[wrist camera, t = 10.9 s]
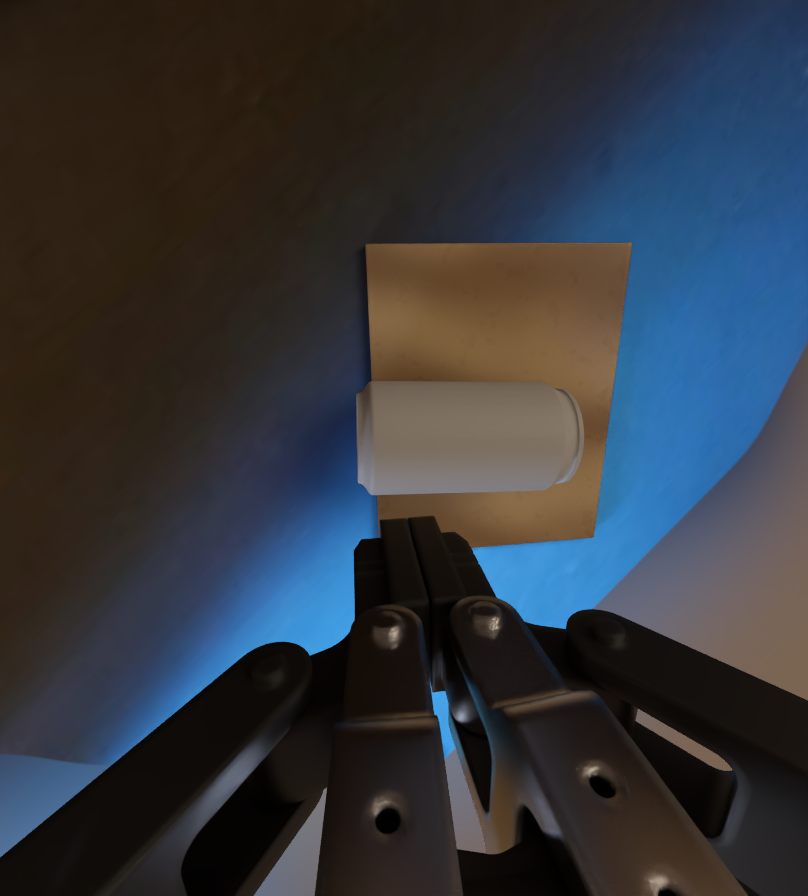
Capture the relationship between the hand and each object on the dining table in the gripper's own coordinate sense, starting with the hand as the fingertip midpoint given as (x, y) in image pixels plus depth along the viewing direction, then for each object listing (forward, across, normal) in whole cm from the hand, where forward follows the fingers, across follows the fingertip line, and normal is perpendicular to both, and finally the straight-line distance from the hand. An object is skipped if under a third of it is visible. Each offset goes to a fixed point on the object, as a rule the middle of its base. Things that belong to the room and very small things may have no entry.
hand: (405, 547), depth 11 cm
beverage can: (+12, +1, 0) cm, 13 cm away
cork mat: (+16, -8, 0) cm, 18 cm away
